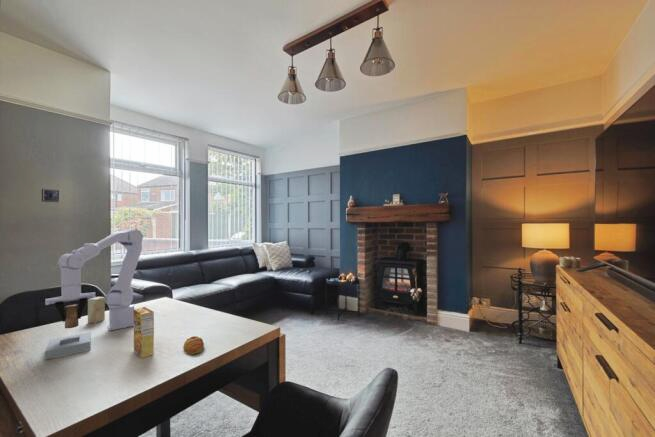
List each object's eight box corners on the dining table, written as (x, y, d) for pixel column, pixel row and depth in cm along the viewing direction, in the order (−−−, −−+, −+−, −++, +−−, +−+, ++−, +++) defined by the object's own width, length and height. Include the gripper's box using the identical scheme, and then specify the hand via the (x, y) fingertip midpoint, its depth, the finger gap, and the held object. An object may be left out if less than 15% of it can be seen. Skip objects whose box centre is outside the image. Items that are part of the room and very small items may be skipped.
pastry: (206, 352, 104) (206, 342, 104) (186, 358, 101) (185, 347, 101) (201, 343, 112) (201, 333, 112) (182, 348, 108) (182, 338, 108)
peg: (78, 324, 116) (78, 303, 116) (78, 326, 113) (78, 305, 113) (64, 326, 113) (64, 306, 114) (64, 329, 111) (64, 308, 111)
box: (94, 323, 136) (94, 299, 136) (87, 322, 136) (86, 299, 136) (105, 319, 141) (105, 296, 141) (98, 319, 142) (97, 296, 142)
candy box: (132, 351, 106) (132, 309, 106) (146, 347, 109) (145, 306, 109) (141, 358, 100) (140, 314, 100) (155, 354, 103) (154, 311, 103)
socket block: (90, 339, 117) (90, 332, 117) (90, 349, 108) (90, 341, 108) (49, 348, 110) (49, 340, 110) (45, 360, 100) (45, 351, 100)
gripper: (94, 280, 121) (94, 312, 121) (45, 285, 111) (46, 321, 111) (95, 282, 116) (96, 316, 116) (45, 289, 106) (45, 326, 106)
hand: (71, 319), depth 113 cm, fingers closed on peg, 4 cm apart
